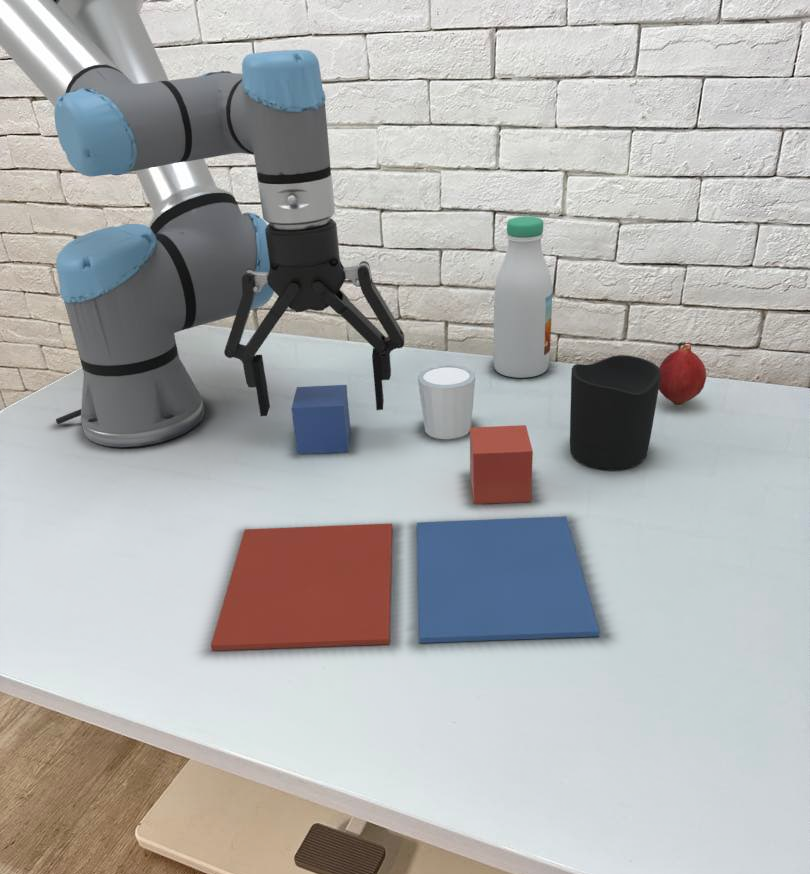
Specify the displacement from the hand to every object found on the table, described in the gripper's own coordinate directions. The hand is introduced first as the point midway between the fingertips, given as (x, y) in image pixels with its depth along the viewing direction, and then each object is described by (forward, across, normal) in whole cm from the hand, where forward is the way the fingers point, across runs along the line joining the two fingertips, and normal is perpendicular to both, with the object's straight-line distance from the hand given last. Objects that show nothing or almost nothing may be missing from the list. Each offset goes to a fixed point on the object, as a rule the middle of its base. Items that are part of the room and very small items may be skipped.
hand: (322, 408), depth 101 cm
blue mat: (+5, +18, -29) cm, 34 cm away
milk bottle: (+5, +26, +20) cm, 33 cm away
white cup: (+5, +15, +2) cm, 16 cm away
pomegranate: (+5, +44, +6) cm, 44 cm away
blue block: (+4, 0, 0) cm, 5 cm away
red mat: (+5, +1, -29) cm, 29 cm away
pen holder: (+5, +33, -6) cm, 34 cm away
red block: (+5, +20, -13) cm, 24 cm away
